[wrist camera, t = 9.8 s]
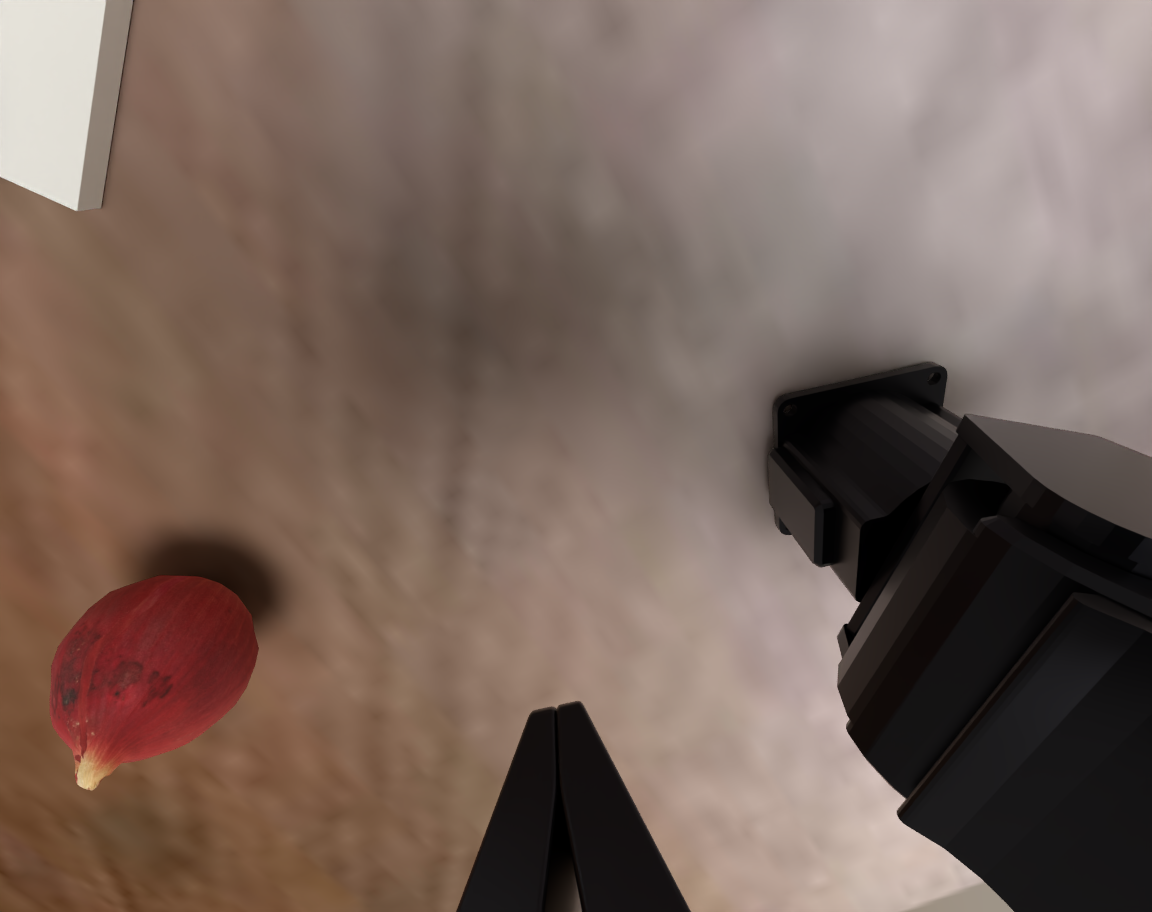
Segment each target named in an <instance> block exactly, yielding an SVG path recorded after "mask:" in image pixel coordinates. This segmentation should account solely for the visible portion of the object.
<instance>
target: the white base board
mask: <svg viewBox="0 0 1152 912" xmlns="http://www.w3.org/2000/svg"><path fill="white" fill-rule="evenodd" d="M132 5H133V0H0V177H2V178H4V179H6V180H9V181H11V182H13V183H15V184H17V185H20V186H22V187H24V188H26V189H29V190H31V191H33V192H35V193H37V194H40V195H42V196H44V197H46V198H49V199H51V200H53V201H55V202H57V203H60V204H62V205H64V206H66V207H69V208H71V209H73V210H75V211H83V210H91V209H99V208H101V205H102V198H103V192H104V185H105V179H106V173H107V166H108V160H109V153H110V147H111V140H112V134H113V127H114V121H115V115H116V108H117V102H118V95H119V89H120V82H121V76H122V69H123V63H124V57H125V50H126V44H127V37H128V31H129V24H130V18H131V11H132Z"/></svg>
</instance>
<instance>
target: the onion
mask: <svg viewBox="0 0 1152 912" xmlns="http://www.w3.org/2000/svg"><path fill="white" fill-rule="evenodd" d="M258 650H259V647H258V643H257V640H256V636H255V632H254V627H253V621H252V615H251V614H250V612H249V611H248V610H247V608H246V607H245V606H244V604H243V603H242V601H241V600H240V599H239V597H238V596H237V594H235V593H234V592H232V591H231V590H230V589H228V588H227V587H225V586H224V585H222V584H221V583H218V582H215V581H212V580H209V579H206V578H203V577H200V576H171V575H159V576H156V577H152V578H149V579H146V580H143V581H140V582H137V583H134V584H131V585H128V586H125V587H122V588H120V589H117V590H114V591H111V592H109V593H108V594H107V595H106V596H104V597H103V598H102V599H101V600H99V601H98V602H97V603H95V604H94V605H93V606H92V607H90V608H89V609H88V610H87V611H86V613H85V614H84V615H83V616H82V617H81V618H80V619H79V621H78V622H77V623H76V624H75V625H74V626H73V628H72V629H71V630H70V632H69V633H68V634H67V636H66V637H65V638H64V639H63V641H62V642H61V643H60V645H59V646H58V649H57V651H56V654H55V657H54V660H53V663H52V665H51V691H50V716H51V720H52V725H53V727H54V729H55V730H56V732H57V733H58V735H59V736H60V737H61V739H62V740H63V741H64V742H65V743H66V744H67V745H68V746H69V747H70V748H71V749H72V750H73V755H74V759H75V764H76V770H75V779H76V782H77V784H78V785H79V786H81V787H82V788H85V789H89V790H93V789H95V788H96V787H97V786H98V785H99V784H100V782H101V780H102V779H103V777H105V776H109V775H110V774H111V773H112V772H113V771H114V769H115V768H116V767H117V766H118V765H120V764H121V763H127V762H134V761H139V760H144V759H147V758H150V757H153V756H156V755H159V754H162V753H165V752H168V751H171V750H174V749H176V748H178V747H181V746H183V745H185V744H187V743H189V742H190V741H192V740H193V739H195V738H197V737H198V736H200V735H201V734H202V733H204V732H205V731H206V730H207V729H209V728H210V727H211V726H212V725H213V724H215V723H216V722H217V721H218V720H220V719H221V718H222V717H223V716H224V715H225V714H226V713H227V712H228V711H229V710H230V709H231V708H232V707H233V706H234V705H235V704H236V703H237V701H238V700H239V698H240V697H241V695H242V694H243V692H244V691H245V689H246V687H247V685H248V682H249V680H250V677H251V674H252V672H253V669H254V667H255V663H256V658H257V654H258Z"/></svg>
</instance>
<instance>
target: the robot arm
mask: <svg viewBox="0 0 1152 912" xmlns="http://www.w3.org/2000/svg"><path fill="white" fill-rule="evenodd" d="M932 373H934V374H933V377H932V378H931V379H930V380H928V377H929V376H930V375H931V374H932ZM927 380H928V381H927ZM946 381H947V371H946V369H945V368H944V367H942V366H940V365H938V364H936V363H925V364H921V365H916V366H912V367H907V368H903V369H898V370H894V371H889V372H884V373H880V374H875V375H871V376H866V377H862V378H857V379H853V380H848V381H844V382H839V383H835V384H830V385H826V386H821V387H817V388H812V389H808V390H803V391H798V392H794V393H789V394H785V395H783V396H781V397H779V398H778V399H777V400H776V402H775V403H774V407H773V430H774V448H772V449H771V451H770V453H769V455H768V466H769V502H770V505H771V506H772V508H773V509H774V511H775V523H776V526H777V528H778V529H779V530H780V532H781V533H782V534H785V535H793V537H794V538H795V539H796V541H797V542H798V544H799V545H800V546H801V548H802V549H803V551H804V552H805V553H806V555H807V556H808V557H809V559H810V560H811V562H812V563H813V564H815V565H817V566H818V567H825V566H830V567H831V568H832V570H833V571H834V572H835V574H836V575H837V576H838V578H839V579H840V580H841V581H842V583H843V584H844V585H845V587H846V588H847V589H848V591H849V592H850V593H851V595H852V596H853V597H854V599H855V600H856V601H858V602H861V603H860V604H859V606H858V608H857V610H856V611H855V613H854V615H853V617H852V618H851V620H850V622H849V623H848V624H844V625H843V627H842V629H841V631H840V632H839V634H838V636H837V639H838V643H839V647H840V651H841V656H842V660H841V662H840V663H839V665H838V684H837V687H838V690H839V693H840V696H841V699H842V702H843V704H844V707H845V710H846V713H847V716H848V717H849V719H850V720H849V721H848V723H847V725H846V729H847V732H848V734H849V735H850V737H851V738H852V740H853V741H854V743H855V744H856V745H857V747H858V748H859V750H860V751H861V753H862V754H863V756H864V757H865V758H866V760H867V761H868V762H869V763H870V764H871V765H872V767H873V768H874V769H875V770H876V771H877V772H878V773H879V774H880V775H881V776H882V777H883V778H884V780H885V781H886V782H887V783H888V784H889V785H890V786H891V787H892V788H894V789H895V790H896V791H897V792H898V793H899V794H901V795H902V796H903V797H904V798H905V799H906V800H905V801H904V802H903V804H902V805H901V806H900V807H899V808H898V810H897V815H898V817H899V819H900V820H901V821H902V822H903V823H904V824H905V825H907V826H908V827H910V828H911V829H913V830H915V831H916V832H918V833H920V834H921V835H923V836H925V837H926V838H928V839H930V840H931V841H933V842H935V843H936V844H938V845H940V846H941V847H943V848H944V849H946V850H947V851H948V852H949V853H951V854H952V855H953V856H954V857H955V858H957V859H958V860H959V861H960V862H962V863H963V864H964V865H965V866H967V867H968V868H969V869H970V870H972V871H973V872H974V873H975V874H976V875H978V876H979V877H980V878H981V879H982V880H983V881H984V882H985V883H986V884H987V885H988V886H990V887H991V888H992V889H993V890H994V891H995V892H996V893H997V894H998V895H999V896H1000V897H1001V898H1002V899H1003V900H1004V901H1005V902H1006V903H1007V904H1008V905H1009V907H1010V908H1011V909H1012V910H1013V911H1014V912H1152V457H1149V456H1147V455H1144V454H1142V453H1139V452H1137V451H1134V450H1132V449H1129V448H1127V447H1125V446H1122V445H1120V444H1117V443H1115V442H1112V441H1110V440H1107V439H1105V438H1102V437H1099V436H1095V435H1090V434H1084V433H1078V432H1072V431H1066V430H1060V429H1054V428H1048V427H1043V426H1037V425H1031V424H1025V423H1019V422H1013V421H1007V420H1001V419H995V418H989V417H983V416H977V415H971V414H965V415H964V417H963V419H962V418H960V417H958V416H957V415H955V414H953V413H952V412H950V411H948V410H946V409H945V408H943V401H944V394H945V388H946ZM790 404H792V408H791V409H790V410H789V411H787V412H784V409H785V407H786V406H788V405H790ZM456 912H691V911H690V909H689V907H688V905H687V903H686V901H685V900H684V898H683V896H682V894H681V892H680V890H679V888H678V886H677V884H676V882H675V880H674V878H673V876H672V875H671V873H670V871H669V869H668V867H667V865H666V863H665V861H664V859H663V857H662V855H661V853H660V851H659V850H658V848H657V846H656V844H655V842H654V840H653V838H652V836H651V834H650V832H649V830H648V828H647V826H646V825H645V823H644V821H643V819H642V817H641V815H640V813H639V811H638V809H637V807H636V805H635V803H634V801H633V800H632V798H631V796H630V794H629V792H628V790H627V788H626V786H625V784H624V782H623V780H622V778H621V777H620V775H619V773H618V771H617V769H616V767H615V765H614V763H613V761H612V759H611V757H610V755H609V753H608V752H607V750H606V748H605V746H604V744H603V742H602V740H601V738H600V736H599V734H598V732H597V730H596V728H595V727H594V725H593V723H592V721H591V719H590V717H589V715H588V713H587V711H586V709H585V707H584V706H583V704H582V703H581V702H580V701H575V702H570V703H566V704H561V705H559V706H558V707H557V709H556V708H555V707H547V708H543V709H538V710H534V711H532V712H531V713H530V715H529V717H528V720H527V722H526V725H525V728H524V730H523V733H522V736H521V738H520V741H519V744H518V747H517V749H516V752H515V755H514V757H513V760H512V763H511V765H510V768H509V771H508V774H507V776H506V779H505V782H504V784H503V787H502V790H501V792H500V795H499V798H498V800H497V803H496V806H495V809H494V811H493V814H492V817H491V819H490V822H489V825H488V827H487V830H486V833H485V836H484V838H483V841H482V844H481V846H480V849H479V852H478V854H477V857H476V860H475V862H474V865H473V868H472V871H471V873H470V876H469V879H468V881H467V884H466V887H465V889H464V892H463V895H462V898H461V900H460V903H459V906H458V908H457V911H456Z"/></svg>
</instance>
